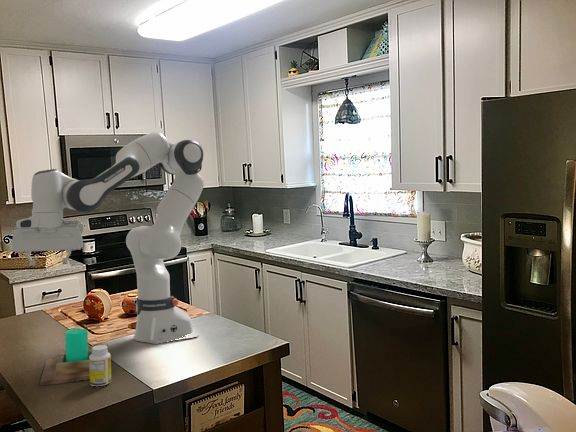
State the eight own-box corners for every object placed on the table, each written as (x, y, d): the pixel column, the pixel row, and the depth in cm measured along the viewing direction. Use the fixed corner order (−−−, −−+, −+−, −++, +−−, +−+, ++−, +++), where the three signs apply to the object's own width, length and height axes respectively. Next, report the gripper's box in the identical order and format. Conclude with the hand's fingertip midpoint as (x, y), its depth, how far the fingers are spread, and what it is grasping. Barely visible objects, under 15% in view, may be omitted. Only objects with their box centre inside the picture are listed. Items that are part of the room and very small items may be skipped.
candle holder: (110, 356, 163) (110, 344, 162) (111, 377, 146) (110, 363, 146) (47, 363, 157) (47, 350, 156) (40, 385, 140) (40, 371, 140)
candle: (80, 370, 148) (79, 329, 147) (61, 369, 149) (60, 327, 148) (92, 363, 153) (91, 323, 153) (74, 361, 155) (73, 322, 154)
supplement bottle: (104, 378, 145) (103, 342, 144) (115, 383, 141) (114, 346, 141) (85, 384, 141) (84, 347, 140) (96, 389, 137) (95, 351, 136)
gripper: (83, 219, 170) (84, 261, 170) (13, 221, 162) (14, 264, 163) (83, 221, 164) (84, 264, 165) (10, 222, 156) (11, 268, 157)
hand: (49, 264), depth 164 cm, fingers open, 8 cm apart
